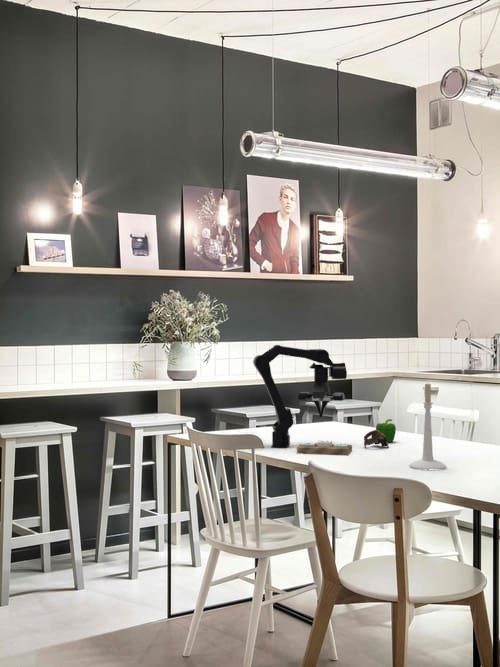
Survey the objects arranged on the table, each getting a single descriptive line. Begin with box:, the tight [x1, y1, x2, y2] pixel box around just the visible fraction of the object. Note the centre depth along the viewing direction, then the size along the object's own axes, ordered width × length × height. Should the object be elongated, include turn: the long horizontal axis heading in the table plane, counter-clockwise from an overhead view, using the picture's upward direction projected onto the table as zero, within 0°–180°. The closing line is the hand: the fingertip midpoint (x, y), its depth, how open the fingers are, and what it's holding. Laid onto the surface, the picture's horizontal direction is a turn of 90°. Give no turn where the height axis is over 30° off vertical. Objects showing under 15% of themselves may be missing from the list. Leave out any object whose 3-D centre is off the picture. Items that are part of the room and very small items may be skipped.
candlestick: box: [408, 383, 447, 471], centre depth 305 cm, size 13×13×30 cm
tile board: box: [296, 443, 353, 456], centre depth 340 cm, size 20×12×2 cm, turn 76°
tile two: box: [316, 440, 333, 447], centre depth 340 cm, size 5×5×2 cm
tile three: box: [334, 443, 349, 448], centre depth 338 cm, size 5×5×2 cm
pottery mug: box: [363, 429, 390, 449], centre depth 353 cm, size 12×10×8 cm
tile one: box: [300, 442, 317, 447], centre depth 342 cm, size 5×5×2 cm
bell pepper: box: [375, 418, 397, 443], centre depth 367 cm, size 8×8×10 cm
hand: (321, 417), depth 356 cm, fingers closed
